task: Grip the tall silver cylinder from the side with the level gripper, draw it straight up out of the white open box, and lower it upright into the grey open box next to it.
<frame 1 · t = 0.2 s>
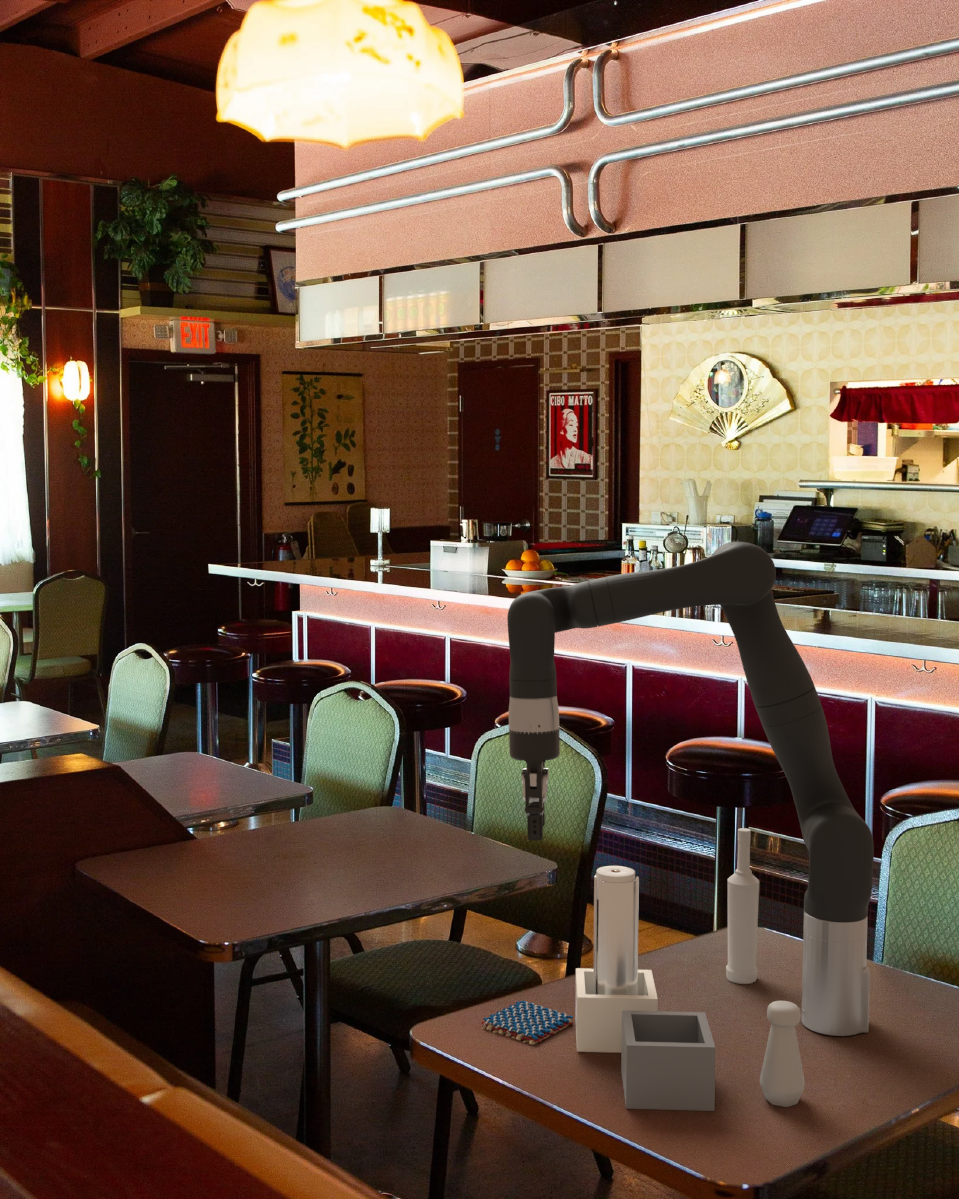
hand: (536, 833, 195), 29 cm above the table, tool pointing down, fingers open, 8 cm apart
woven mat: (526, 1030, 195), on the table
silver tall cylinder: (614, 1037, 192), resting in white open box
grey open box: (666, 1089, 174), on the table
bottle: (741, 979, 214), on the table
salt shaker: (781, 1101, 172), on the table
white open box: (614, 1036, 192), on the table
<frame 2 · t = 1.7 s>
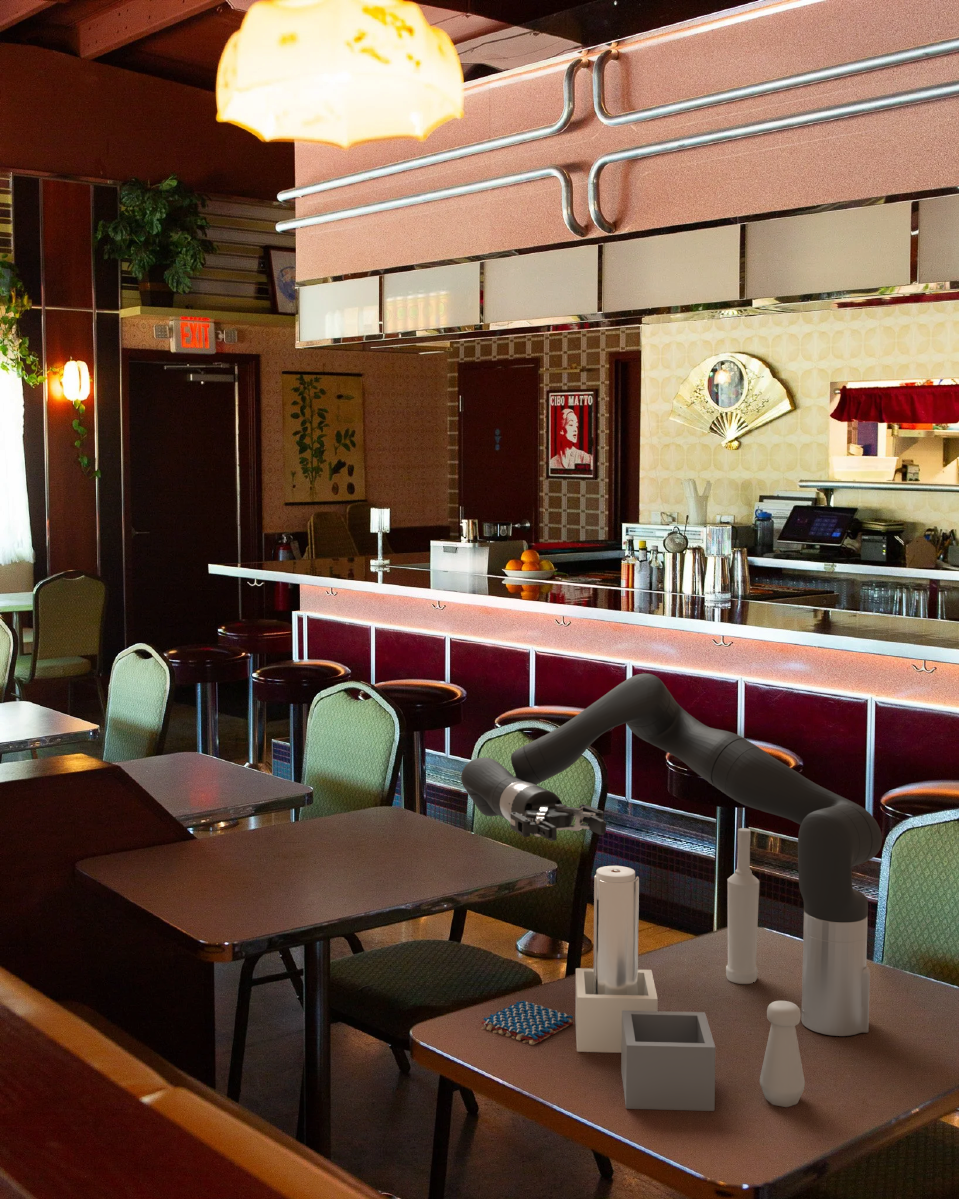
hand: (579, 831, 199), 28 cm above the table, tool horizontal, fingers open, 8 cm apart
nothing on the table moved.
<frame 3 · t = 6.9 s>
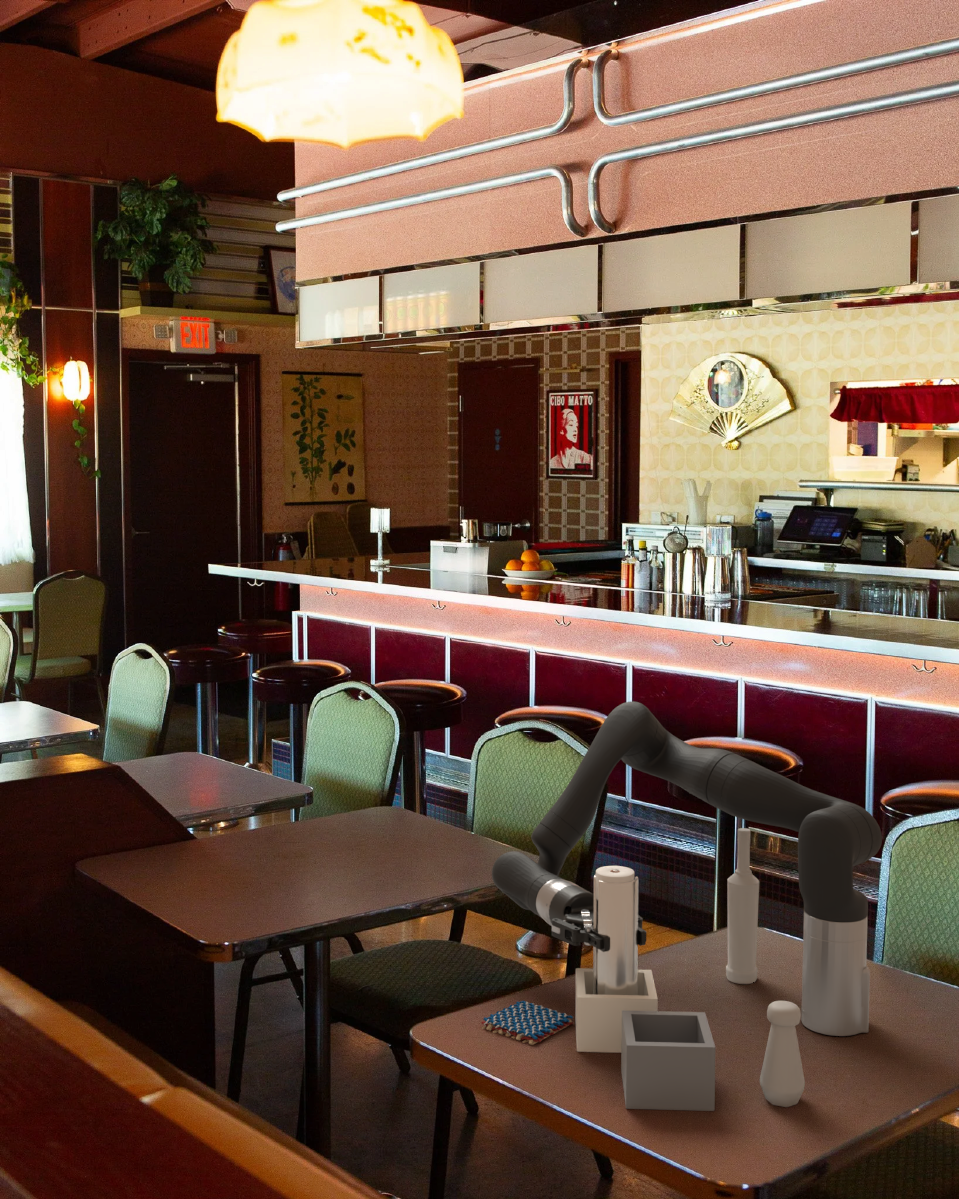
hand: (625, 941, 188), 15 cm above the table, tool horizontal, fingers closed on silver tall cylinder, 5 cm apart
silver tall cylinder: (614, 1037, 192), resting in white open box, touching gripper
everything else where it was.
when the fingers open (16 cm above the table, at t = 15.2 s): silver tall cylinder drops 1 cm, resting in grey open box.
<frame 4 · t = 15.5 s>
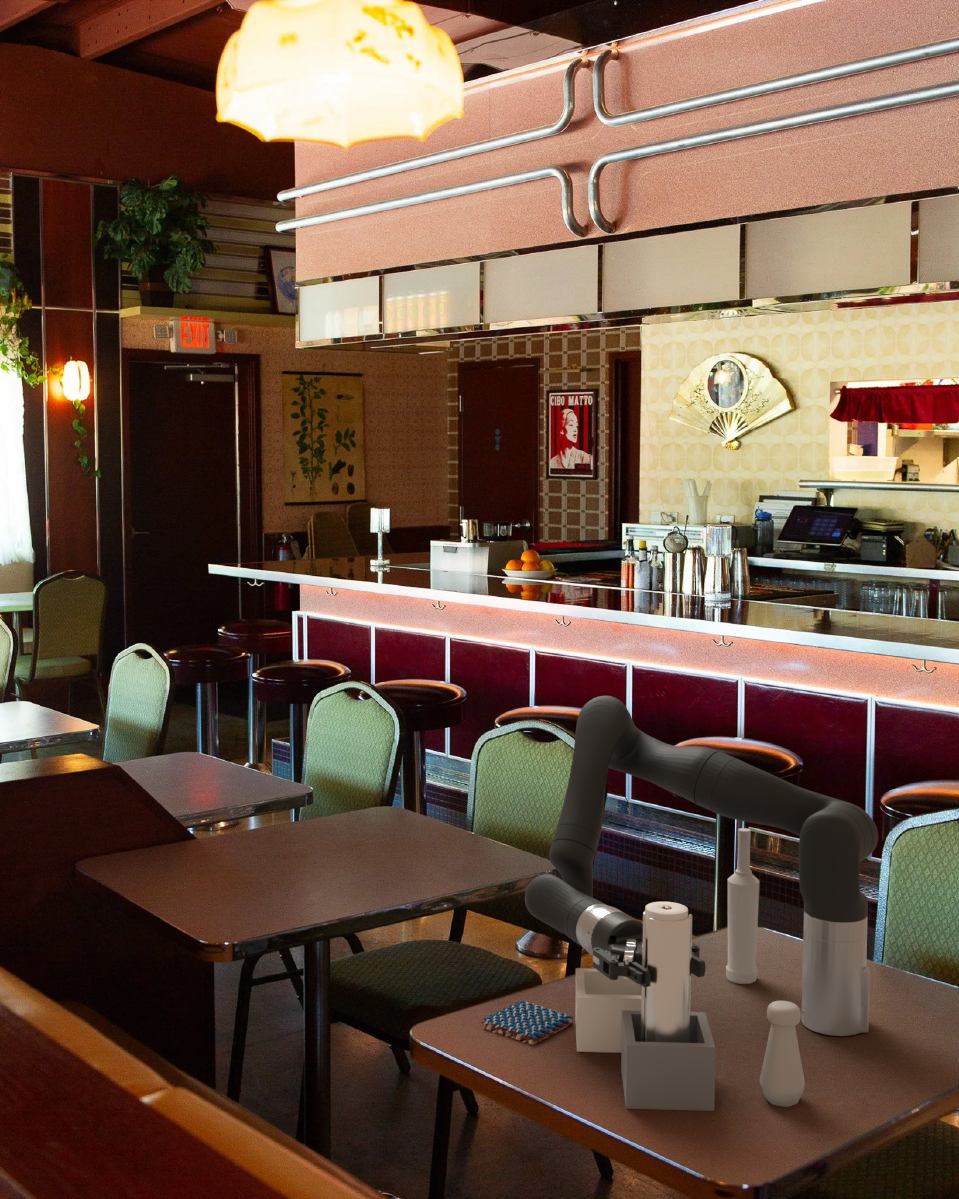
hand: (675, 974, 171), 17 cm above the table, tool horizontal, fingers open, 8 cm apart
silver tall cylinder: (663, 1090, 174), resting in grey open box
everything else where it was.
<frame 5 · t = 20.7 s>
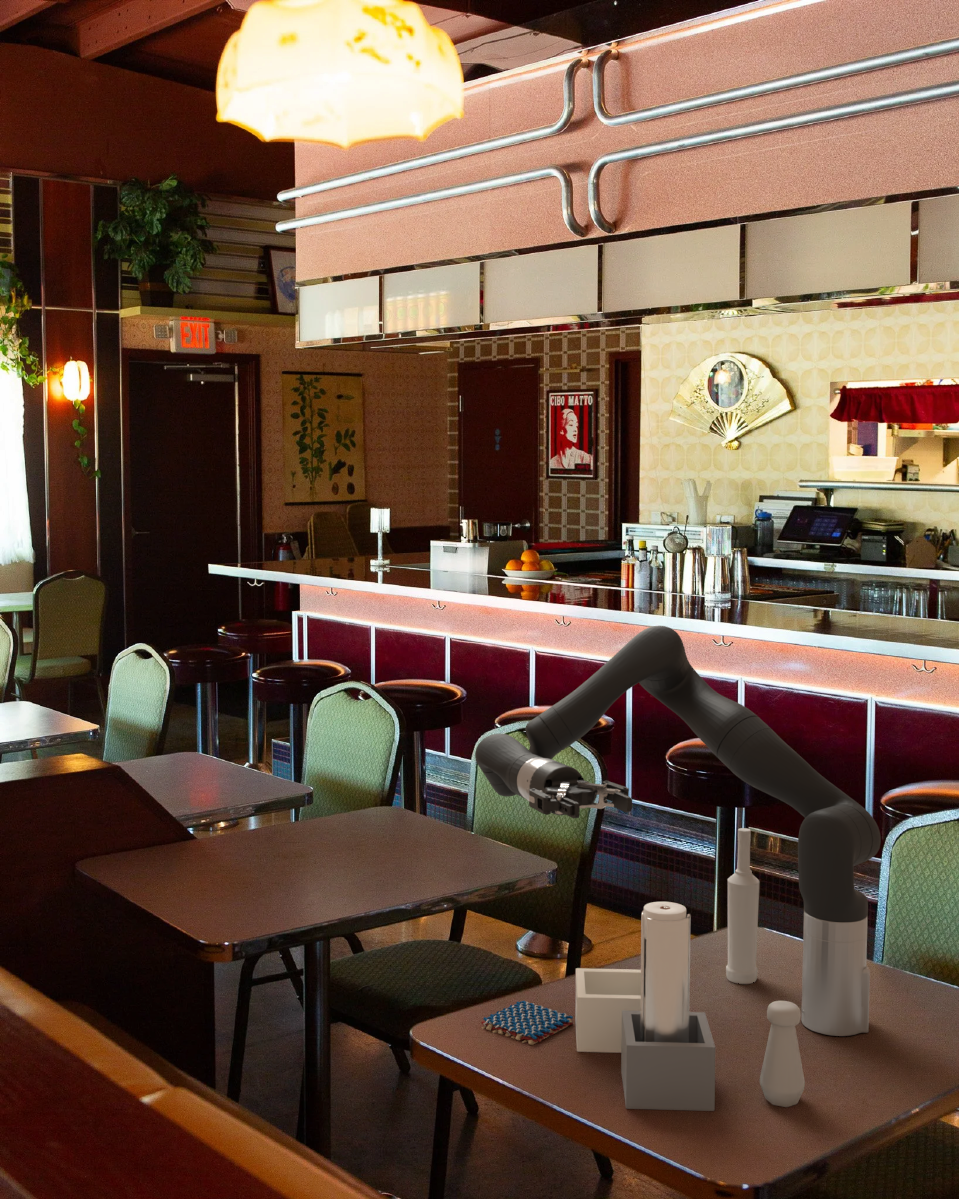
hand: (603, 808, 185), 35 cm above the table, tool horizontal, fingers open, 8 cm apart
nothing on the table moved.
at the end: silver tall cylinder 0.3 cm from the grey open box (horizontally); silver tall cylinder tilted 1°; the gripper is holding nothing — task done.
